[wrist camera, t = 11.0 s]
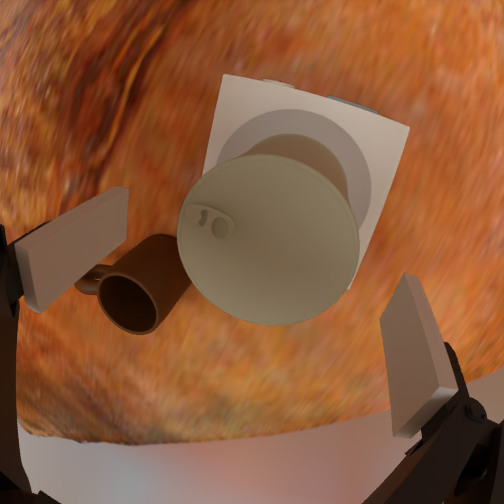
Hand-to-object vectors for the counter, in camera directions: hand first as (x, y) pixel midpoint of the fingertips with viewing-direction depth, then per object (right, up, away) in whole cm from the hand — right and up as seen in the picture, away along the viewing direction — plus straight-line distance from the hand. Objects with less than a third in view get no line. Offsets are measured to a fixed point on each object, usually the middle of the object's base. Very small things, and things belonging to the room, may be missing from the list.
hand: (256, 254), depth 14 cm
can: (+3, +5, +12) cm, 13 cm away
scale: (+4, +7, +16) cm, 18 cm away
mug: (-12, -1, +24) cm, 27 cm away
